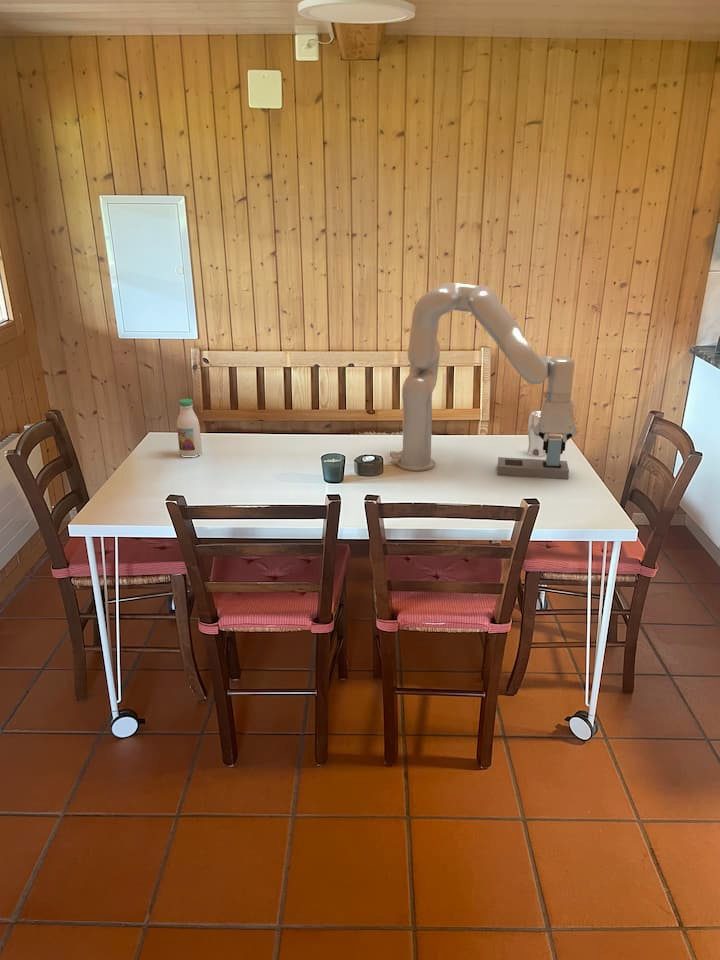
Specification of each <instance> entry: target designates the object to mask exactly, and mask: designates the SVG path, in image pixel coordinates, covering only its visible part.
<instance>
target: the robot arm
mask: <svg viewBox="0 0 720 960" xmlns="http://www.w3.org/2000/svg"><path fill="white" fill-rule="evenodd" d="M413 308H414V309H413V312H412V317H411V327H410V333H409V340H408V341H409V342H408V343H409V344H408V349H407V359H408V362H409V364H410V365H409V373H408V375H407V377H406V378H405V380H404V381H403V383H402V388H401V389H402V390H401V395H402V396H401V397H402V398H401V399H402V450H398V451H395V450H394V451H393V450H392V451H391V450H390V451H389V457H390V458H392V460H397V466H398V467H400V468H401V469H403V470H406V471H413V472H420V471H421V472H423V471H429V470H431V469H433V468H435V467H436V460H435V459H434V458H433V457H432V454H431V453H432V429H433V426H432V425H433V401H432V400H433V391H434V390H435V388H436V385H437V383H438V382H437V380H438V374H439V364H440V358H441V357H440V355H441V346H440V343H439V341H438V333H439V331H438V330H439V321H440V319H441V317H442V316H444V315H445V314H449V313H451V312H453V311H460V312H466V313H471V314H472V316H473V317H474V318H475V319H476V321H477V322H478V323H479V324H480V325H481V326H482V327H483V329H484V330H485V332H487V334H488V335H489V336H490V337H491V338H492V340H493V341H494V343H496V345H497V347H498V348H499V349H500V351H501V352H502V353H503V354H504V356H505V358H507V360H508V361H509V363H510V364H511V365H512V367H513V368H514V369H515V371H516V372H518V374H519V375H520V377H521V378H522V379H523V380H524V381H526V382H527V383H529V384H531V385H540V384H542V383H543V382H544V381H546V380H547V384H546V391H545V392H541V395H540V396H541V398H545V399H544V400H543V402H542V405H541V410H540V411H541V415H540V421H539V422H538V424H537V425H536V426H535V427H534V428H533V432H535V433H536V434H538V435H539V436H540V437H541V438H542V439H543V441H544V442H543V450H544V451H545V455H546V454H547V452H548V435H550V434H551V435H561V437H562V444H561V455H563V452H565V451H566V443H567V442H568V441H569V439H572V437H574V436H576V435H578V434H579V429H578V428H577V426H576V425H575V423H574V422H575V406H574V405H575V404H574V402H573V400H572V392H573V382H574V373H575V372H574V371H575V360H574V359H573V358H572V357H570V356H567V355H564V356H563V355H557V356H551V355H545V354H539V353H538V354H537V353H536V352H535V351H534V350H533V348H532V347H531V346H530V344H529V343H528V341H527V339H526V338H525V336H524V334H523V331H522V329H521V327H520V325H519V323H518V322H517V321H516V320H515V319H514V317H513V316H512V315H511V314H510V312H509V311H508V309H506V308H505V307H504V305H503V304H502V302H500V300H499V299H498V295H497V293H496V291H495V290H494V289H493V288H491V287H489V286H487V285H477V284H467V283H466V284H465V283H461V282H460V283H459V282H444V283H442V284H439V285H438V286H436V287H435V288H433V289H431V290H429V291H428V292H426V293H425V294H422V296H421V297H420V298H418V300H417V302H416V303H415V306H414V307H413ZM539 428H540V430H539ZM543 433H544V434H543Z"/></svg>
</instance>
